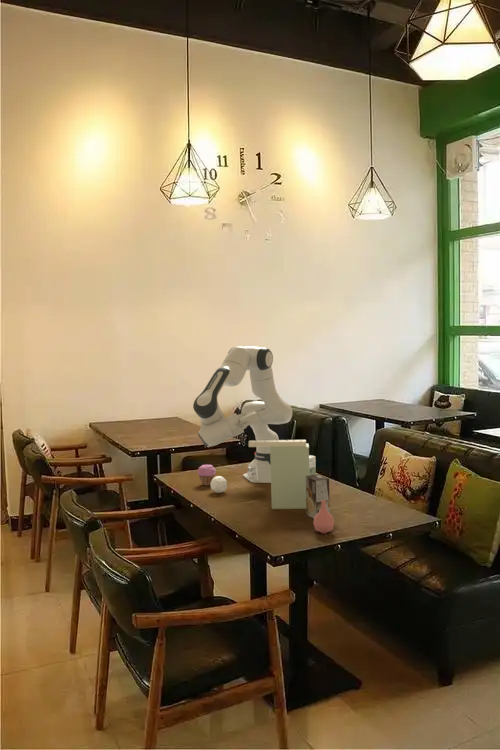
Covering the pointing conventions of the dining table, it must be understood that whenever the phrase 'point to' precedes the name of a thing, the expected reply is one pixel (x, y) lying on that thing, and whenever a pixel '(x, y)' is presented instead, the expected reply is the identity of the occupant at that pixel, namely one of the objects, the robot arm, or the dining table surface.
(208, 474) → the cupcake
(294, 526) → the dining table surface
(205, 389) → the robot arm
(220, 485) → the geometric ball
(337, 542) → the dining table surface
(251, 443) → the domino bar
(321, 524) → the pink vase
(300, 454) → the shelf block
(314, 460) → the syrup box
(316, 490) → the coffee box
